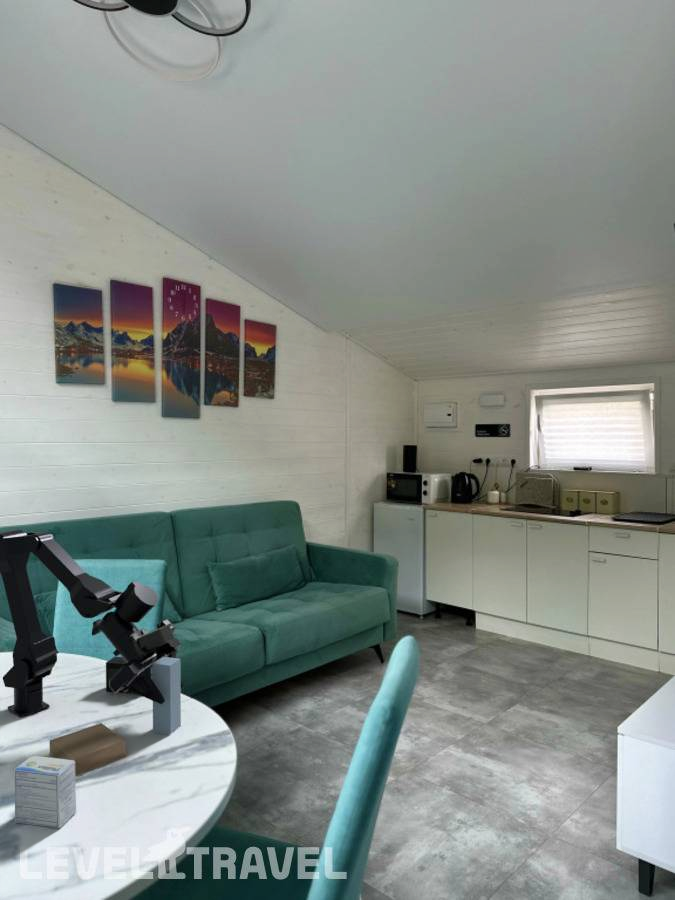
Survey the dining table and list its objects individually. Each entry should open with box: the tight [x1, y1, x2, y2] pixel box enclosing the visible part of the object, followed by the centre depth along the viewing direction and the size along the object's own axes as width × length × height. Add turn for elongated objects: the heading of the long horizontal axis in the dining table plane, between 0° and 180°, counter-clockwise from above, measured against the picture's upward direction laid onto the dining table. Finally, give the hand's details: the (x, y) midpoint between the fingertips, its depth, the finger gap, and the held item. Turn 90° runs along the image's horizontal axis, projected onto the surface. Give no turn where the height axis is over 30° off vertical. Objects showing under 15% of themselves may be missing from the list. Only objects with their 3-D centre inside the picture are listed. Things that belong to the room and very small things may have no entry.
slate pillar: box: [152, 657, 182, 735], centre depth 129 cm, size 4×4×14 cm
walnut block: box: [49, 722, 127, 777], centre depth 119 cm, size 10×10×3 cm
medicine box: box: [13, 755, 77, 829], centre depth 99 cm, size 8×4×9 cm, turn 78°
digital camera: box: [105, 656, 153, 694], centre depth 149 cm, size 10×5×7 cm, turn 81°
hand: (172, 695), depth 129 cm, fingers open, 7 cm apart
